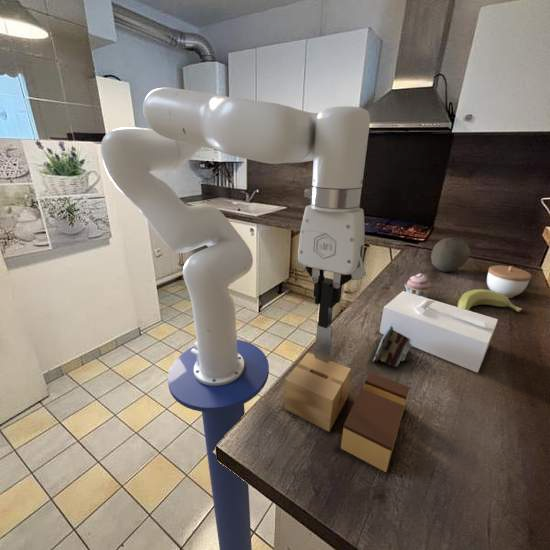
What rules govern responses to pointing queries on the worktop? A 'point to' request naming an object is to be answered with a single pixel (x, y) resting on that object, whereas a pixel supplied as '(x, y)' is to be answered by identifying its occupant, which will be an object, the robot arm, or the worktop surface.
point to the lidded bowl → (507, 280)
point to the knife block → (317, 390)
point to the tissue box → (440, 328)
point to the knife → (324, 324)
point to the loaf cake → (372, 428)
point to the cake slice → (386, 388)
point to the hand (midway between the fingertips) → (326, 302)
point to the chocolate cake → (392, 348)
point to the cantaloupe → (450, 254)
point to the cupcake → (419, 285)
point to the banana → (484, 299)
